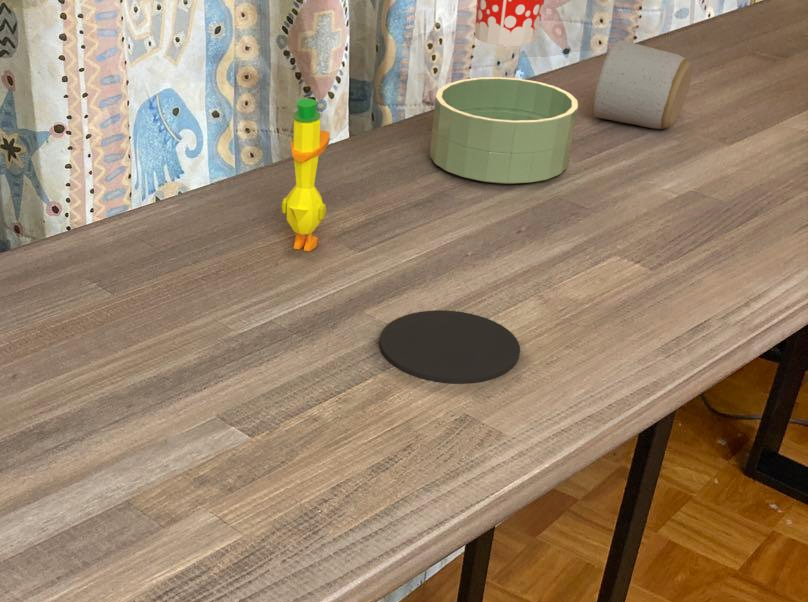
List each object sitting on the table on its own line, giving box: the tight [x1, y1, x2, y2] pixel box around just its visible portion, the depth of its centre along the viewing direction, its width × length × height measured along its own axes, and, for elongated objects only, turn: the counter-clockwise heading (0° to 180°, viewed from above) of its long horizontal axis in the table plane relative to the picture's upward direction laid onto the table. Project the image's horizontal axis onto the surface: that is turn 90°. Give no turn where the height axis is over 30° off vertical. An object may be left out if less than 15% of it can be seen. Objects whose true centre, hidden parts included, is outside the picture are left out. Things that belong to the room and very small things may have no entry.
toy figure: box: [281, 98, 331, 252], centre depth 91 cm, size 7×4×12 cm, turn 159°
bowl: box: [429, 76, 579, 185], centre depth 108 cm, size 13×13×6 cm
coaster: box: [379, 309, 521, 384], centre depth 81 cm, size 10×10×1 cm
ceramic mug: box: [592, 39, 693, 130], centre depth 118 cm, size 11×8×8 cm
